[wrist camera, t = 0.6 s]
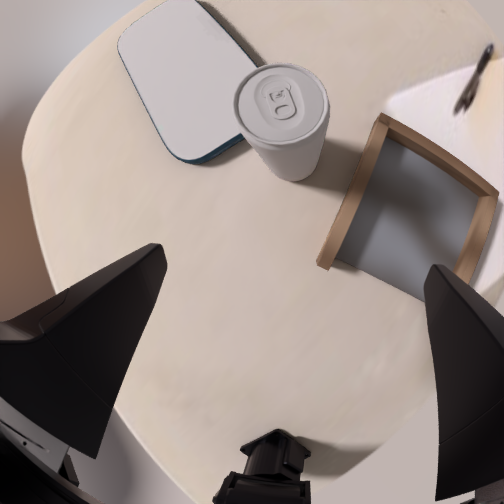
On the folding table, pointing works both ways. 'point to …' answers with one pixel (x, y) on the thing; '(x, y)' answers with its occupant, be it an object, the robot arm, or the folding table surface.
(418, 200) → the bay
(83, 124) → the folding table surface
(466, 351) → the robot arm
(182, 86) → the external hard drive
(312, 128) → the beverage can
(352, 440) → the folding table surface
